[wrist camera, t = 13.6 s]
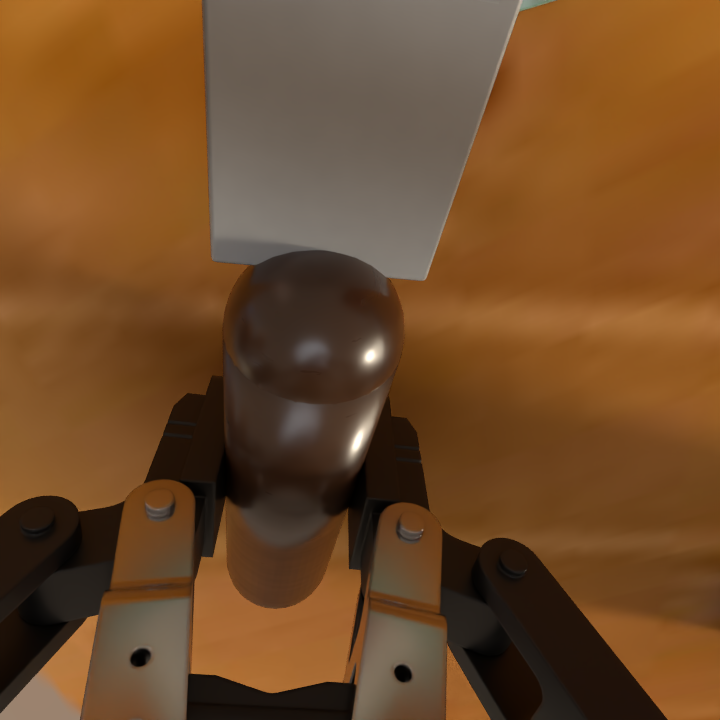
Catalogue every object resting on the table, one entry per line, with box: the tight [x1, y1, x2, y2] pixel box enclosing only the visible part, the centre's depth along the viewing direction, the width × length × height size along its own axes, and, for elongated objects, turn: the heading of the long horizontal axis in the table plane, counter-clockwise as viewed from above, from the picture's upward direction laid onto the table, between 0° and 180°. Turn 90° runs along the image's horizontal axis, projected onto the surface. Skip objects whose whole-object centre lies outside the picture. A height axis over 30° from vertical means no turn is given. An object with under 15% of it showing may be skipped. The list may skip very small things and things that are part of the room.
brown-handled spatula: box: [202, 0, 523, 609], centre depth 11 cm, size 20×3×3 cm, turn 170°
